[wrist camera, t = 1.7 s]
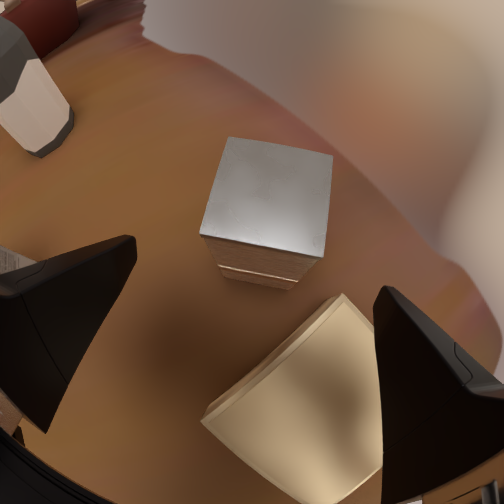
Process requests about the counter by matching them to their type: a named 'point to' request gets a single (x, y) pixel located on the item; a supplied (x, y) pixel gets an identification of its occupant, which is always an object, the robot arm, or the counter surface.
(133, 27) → the counter surface
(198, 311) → the counter surface
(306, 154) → the tea tin
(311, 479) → the maple block
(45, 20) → the bucket
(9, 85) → the wine bottle
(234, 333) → the counter surface
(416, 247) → the counter surface
